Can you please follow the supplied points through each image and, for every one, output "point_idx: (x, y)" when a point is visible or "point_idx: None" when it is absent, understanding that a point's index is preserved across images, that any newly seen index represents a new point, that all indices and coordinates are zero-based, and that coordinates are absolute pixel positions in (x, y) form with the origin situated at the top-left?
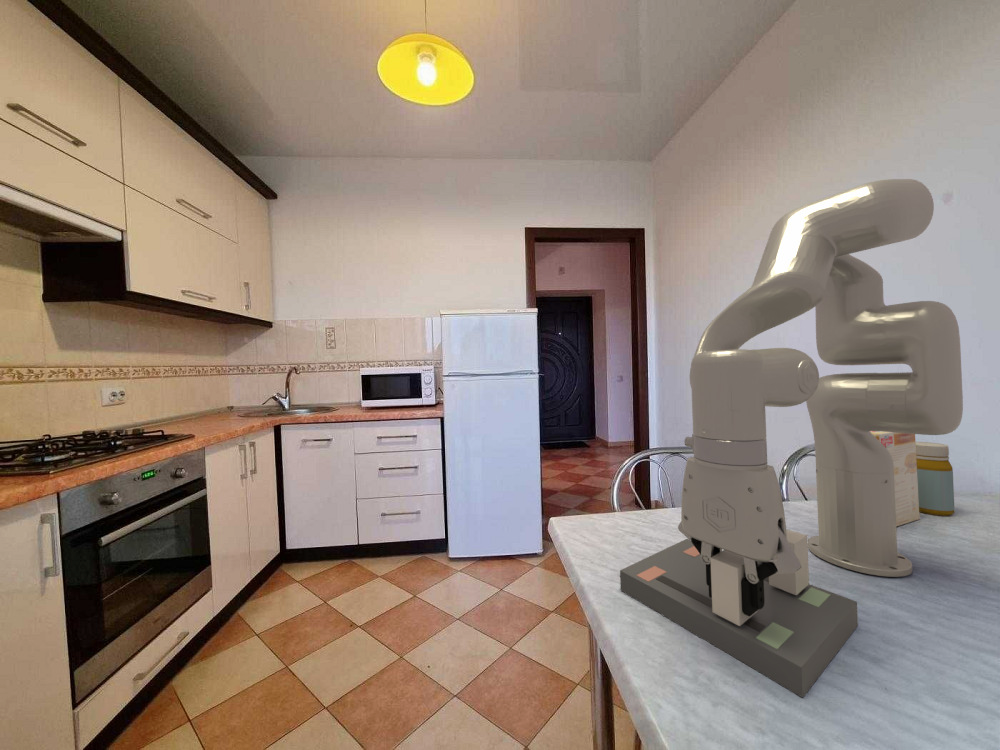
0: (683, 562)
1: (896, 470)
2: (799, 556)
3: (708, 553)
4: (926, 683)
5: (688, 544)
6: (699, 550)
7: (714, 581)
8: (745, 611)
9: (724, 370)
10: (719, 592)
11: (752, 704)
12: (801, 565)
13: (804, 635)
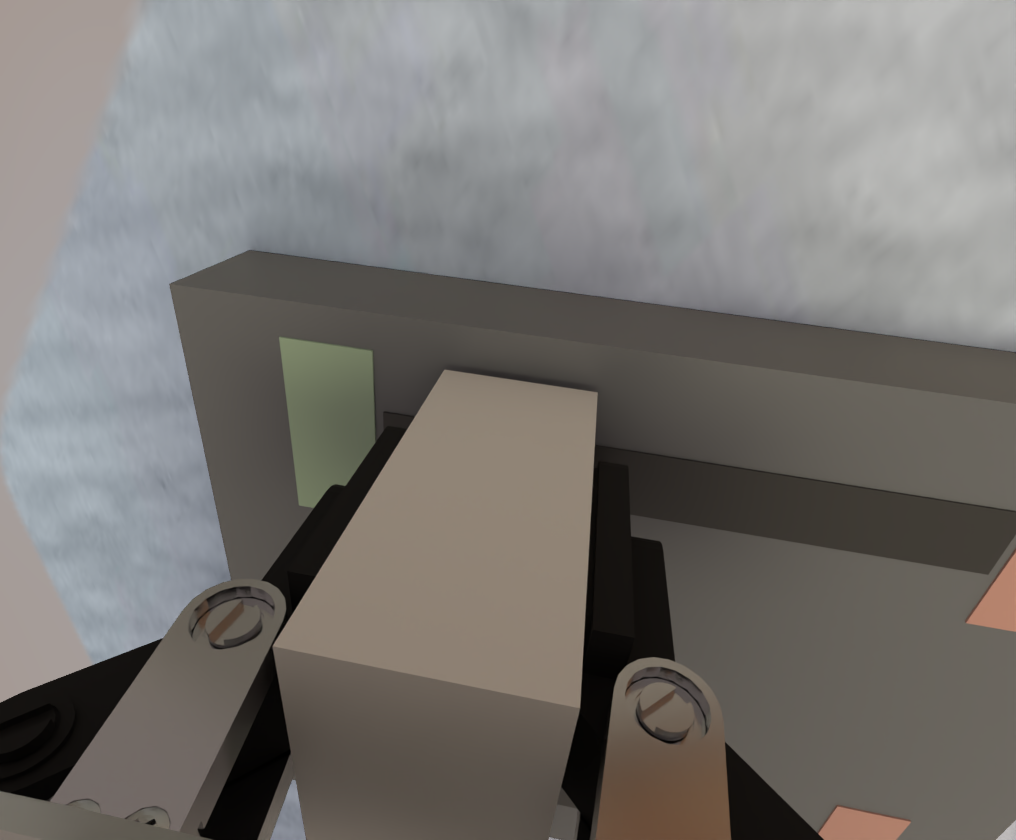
0: (883, 743)
1: None
2: None
3: (633, 775)
4: (132, 566)
5: None
6: (758, 800)
7: (563, 519)
8: (397, 435)
9: None
10: (532, 467)
11: (331, 29)
12: None
13: (269, 510)
